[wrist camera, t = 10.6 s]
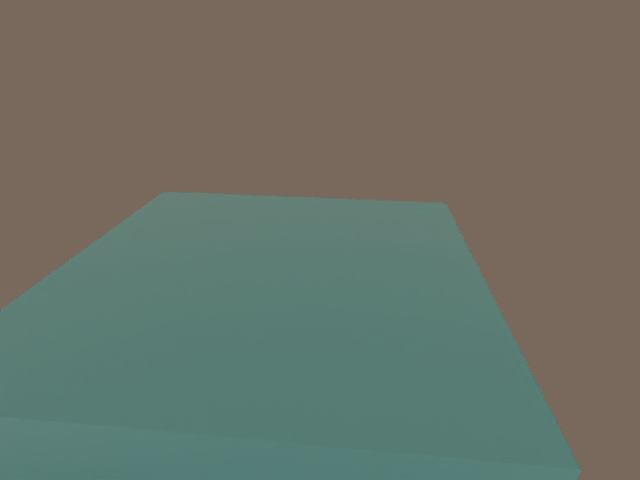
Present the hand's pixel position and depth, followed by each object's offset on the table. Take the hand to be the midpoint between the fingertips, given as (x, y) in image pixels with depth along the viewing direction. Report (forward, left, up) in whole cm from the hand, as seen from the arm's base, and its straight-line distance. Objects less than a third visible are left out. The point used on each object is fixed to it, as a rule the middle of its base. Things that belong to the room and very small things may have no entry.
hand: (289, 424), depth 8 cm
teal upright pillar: (0, -1, -5) cm, 6 cm away
